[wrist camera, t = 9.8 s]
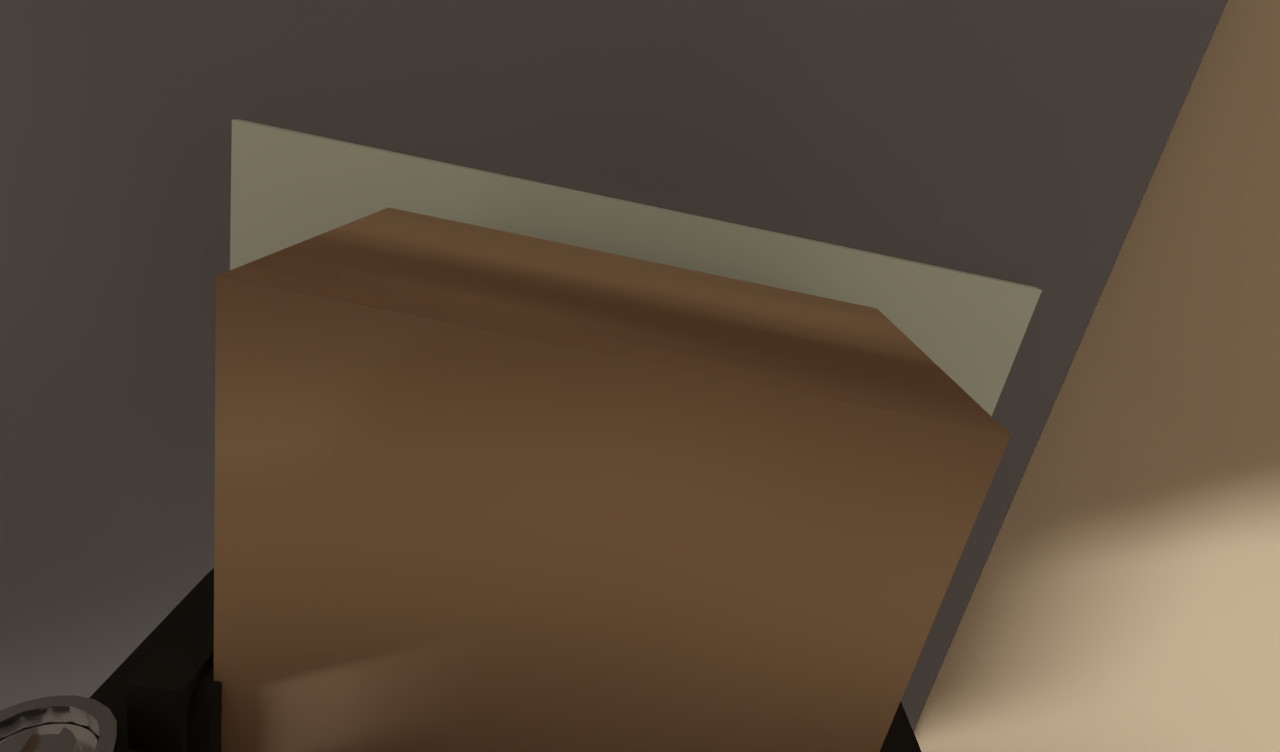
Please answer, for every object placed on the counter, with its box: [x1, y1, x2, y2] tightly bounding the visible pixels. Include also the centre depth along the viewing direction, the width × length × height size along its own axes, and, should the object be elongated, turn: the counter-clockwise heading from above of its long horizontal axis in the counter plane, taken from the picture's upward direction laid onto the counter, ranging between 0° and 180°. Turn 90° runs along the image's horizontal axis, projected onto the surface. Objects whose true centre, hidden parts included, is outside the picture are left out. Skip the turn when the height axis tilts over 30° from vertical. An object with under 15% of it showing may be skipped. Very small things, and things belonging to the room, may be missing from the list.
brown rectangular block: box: [214, 207, 1011, 752], centre depth 10 cm, size 11×6×4 cm, turn 169°
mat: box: [0, 0, 1227, 730], centre depth 12 cm, size 26×20×1 cm
